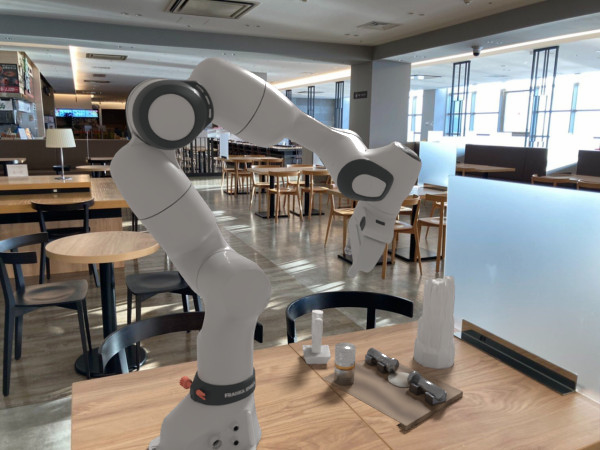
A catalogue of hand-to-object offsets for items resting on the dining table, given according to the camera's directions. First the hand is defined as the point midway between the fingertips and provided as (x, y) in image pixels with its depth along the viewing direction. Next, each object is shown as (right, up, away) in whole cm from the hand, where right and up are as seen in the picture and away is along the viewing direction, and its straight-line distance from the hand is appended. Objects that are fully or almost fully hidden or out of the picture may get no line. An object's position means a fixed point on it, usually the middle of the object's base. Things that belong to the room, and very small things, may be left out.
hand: (348, 263), depth 111 cm
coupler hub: (0, -30, +8) cm, 31 cm away
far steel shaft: (+10, -28, +16) cm, 34 cm away
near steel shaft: (+18, -31, +2) cm, 36 cm away
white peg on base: (-7, -29, +20) cm, 36 cm away
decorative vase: (+26, -29, +23) cm, 45 cm away
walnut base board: (+11, -31, +7) cm, 34 cm away
